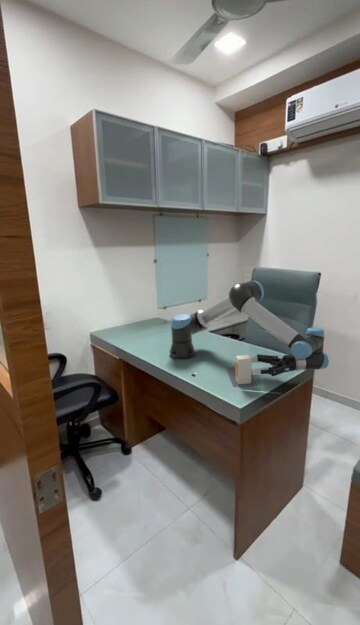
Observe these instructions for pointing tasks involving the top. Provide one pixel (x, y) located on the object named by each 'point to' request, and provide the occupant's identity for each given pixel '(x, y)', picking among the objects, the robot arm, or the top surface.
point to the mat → (233, 379)
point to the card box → (243, 369)
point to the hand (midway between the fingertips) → (248, 365)
